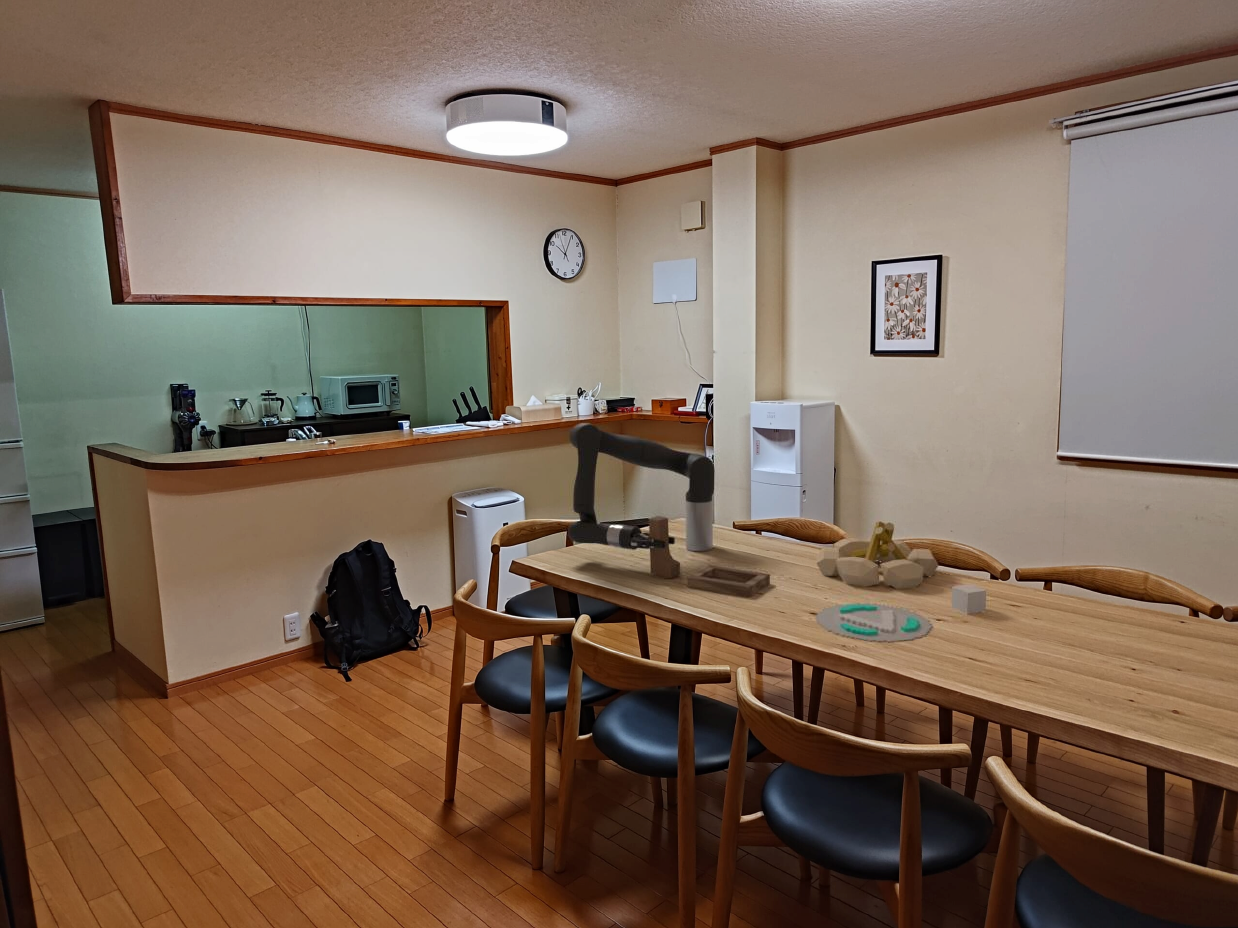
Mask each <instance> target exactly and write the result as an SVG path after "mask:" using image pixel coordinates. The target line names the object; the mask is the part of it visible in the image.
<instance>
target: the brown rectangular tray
mask: <svg viewBox="0 0 1238 928" xmlns="http://www.w3.org/2000/svg"><path fill="white" fill-rule="evenodd" d="M686 577H687V578H686V581H687V582H686V585H687V587H686V588H691V589H696V590H704V591H709V590H710V591H709V592H714V591H715V592H716V593H723V594H728V595H734V596H739V597H743V598H750V597H752V596H753V595H754V594H757V593H758V592H759V591H761V590H762V589H764V588H766V587H767V586H768V585H770V584H771V579H770V578H771V574H770V573H764V572H760V571H759V572H758V571H752V570H746V569H741V568H740V569H739V568H732V567H727V566H726V567H725V566H719V565H711V564H710V565H708V566H706V567H703V568H702V569H700V570H698V571H696V572H694V573H692V574H690V575H689V576H686ZM714 577H715V578H714ZM720 578H721V579H720Z"/></svg>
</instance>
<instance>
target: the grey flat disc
mask: <svg viewBox="0 0 1238 928" xmlns="http://www.w3.org/2000/svg"><path fill="white" fill-rule="evenodd" d="M815 621H816V623H817V624H818V625H819V626H821V627H822V628H823V629H824V630H826V631H827V632H831V633H833V634H835V635H839V634H840V635H841V637H845V636H846V637H845V638H850V639H854V640H860V641H861V640H863V641H864V642H866V640H867V642H869V641H870V642H876V643H881V642H880V641H884V642H886V641H887V642H886V643H893V642H892V641H898V642H904V641H903V640H908V641H914V639H915V640H916V639H921V637H922V638H923V637H927V635H928V634H929V633H930V632H931V630H932V628H931V627H933V628H934V626H933V623H931V622H929V621H930V620H929V619H928V618H927V617H924V616H923V615H921V614H920V613H917V612H916V611H911V610H909V609H908V608H903V607H898V606H893V605H892V606H890V605H885V604H881V603H870V602H868V603H867V602H865V603H861V602H855V603H846V604H845V603H844V604H835V605H832V606H828V607H824V608H823V609H822V610H821V611H819V612H818V614H816V615H815ZM929 630H930V631H929ZM926 634H927V635H926ZM840 635H839V636H840Z"/></svg>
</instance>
